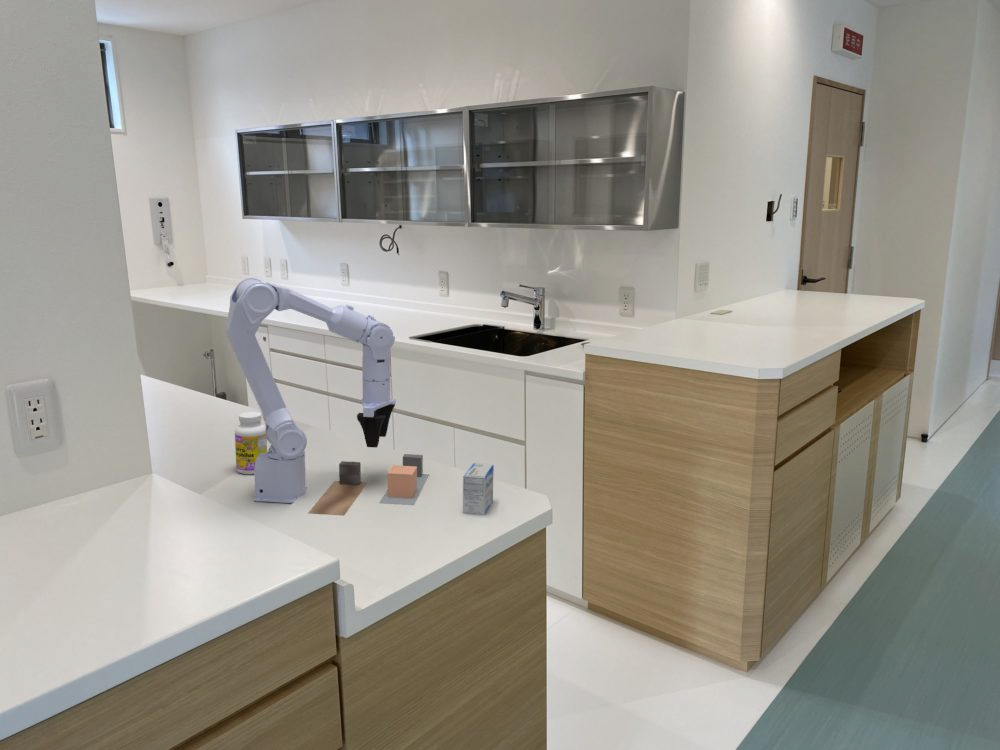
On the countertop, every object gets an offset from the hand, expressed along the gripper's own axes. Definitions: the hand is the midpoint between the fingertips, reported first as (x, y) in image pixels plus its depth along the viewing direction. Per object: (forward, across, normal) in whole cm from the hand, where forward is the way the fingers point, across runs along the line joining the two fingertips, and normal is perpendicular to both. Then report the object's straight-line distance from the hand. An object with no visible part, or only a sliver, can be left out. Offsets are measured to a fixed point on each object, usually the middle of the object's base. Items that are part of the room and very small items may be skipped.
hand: (376, 441), depth 159 cm
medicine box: (+10, -12, -23) cm, 28 cm away
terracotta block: (+8, -7, -7) cm, 13 cm away
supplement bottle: (+10, +4, +29) cm, 31 cm away
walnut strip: (+9, -10, +5) cm, 15 cm away
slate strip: (+9, -3, -7) cm, 12 cm away
